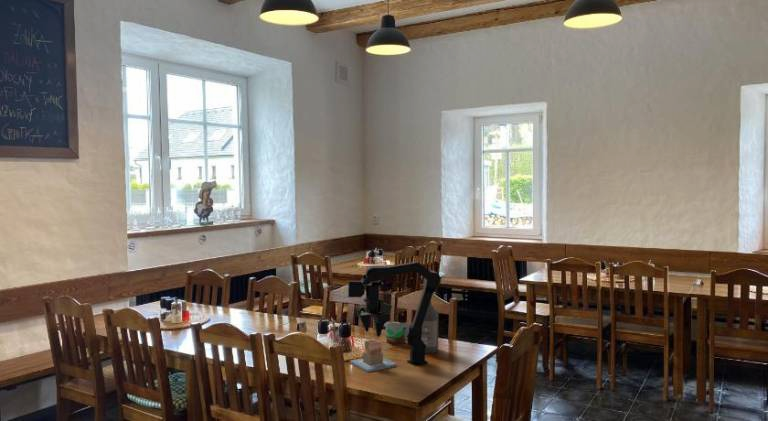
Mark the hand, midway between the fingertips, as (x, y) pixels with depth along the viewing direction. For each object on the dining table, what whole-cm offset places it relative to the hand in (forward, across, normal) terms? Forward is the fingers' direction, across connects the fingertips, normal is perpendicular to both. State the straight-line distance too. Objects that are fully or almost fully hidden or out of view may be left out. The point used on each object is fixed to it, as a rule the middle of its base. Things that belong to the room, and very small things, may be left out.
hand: (372, 334), depth 251 cm
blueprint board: (+13, 0, 0) cm, 13 cm away
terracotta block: (+8, 0, 0) cm, 8 cm away
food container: (+13, +22, -25) cm, 36 cm away
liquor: (+13, +4, -31) cm, 34 cm away
